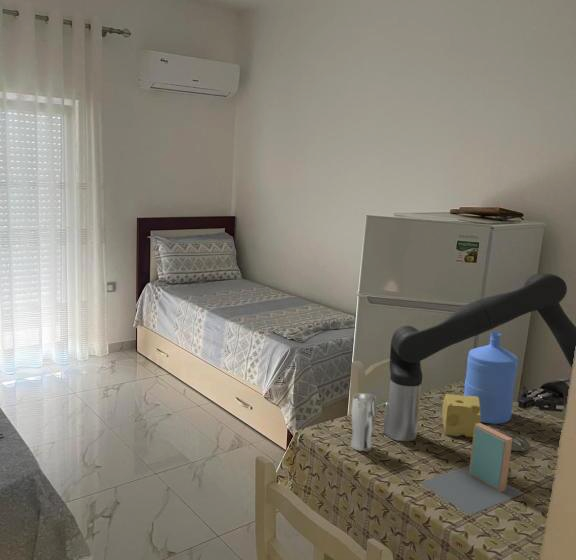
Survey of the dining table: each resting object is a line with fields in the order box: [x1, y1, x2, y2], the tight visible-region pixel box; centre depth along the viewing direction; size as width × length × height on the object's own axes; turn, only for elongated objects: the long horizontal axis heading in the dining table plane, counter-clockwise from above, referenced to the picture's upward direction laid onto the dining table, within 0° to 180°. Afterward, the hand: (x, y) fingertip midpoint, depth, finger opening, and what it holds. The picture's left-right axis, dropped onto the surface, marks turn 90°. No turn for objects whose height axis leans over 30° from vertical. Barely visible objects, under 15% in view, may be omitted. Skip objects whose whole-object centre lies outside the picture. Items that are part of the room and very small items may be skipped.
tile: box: [469, 422, 513, 492], centre depth 146 cm, size 10×2×14 cm, turn 32°
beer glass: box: [350, 392, 377, 452], centre depth 163 cm, size 7×7×15 cm
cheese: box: [441, 393, 482, 438], centre depth 177 cm, size 10×11×10 cm
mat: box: [419, 464, 524, 516], centre depth 144 cm, size 16×20×1 cm
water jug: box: [463, 332, 519, 425], centre depth 188 cm, size 16×16×28 cm
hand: (521, 404), depth 149 cm, fingers closed
